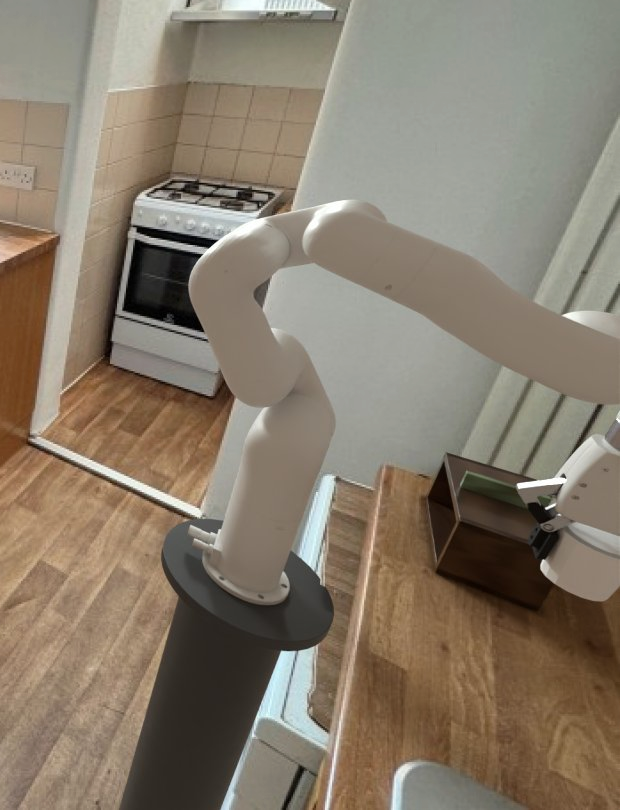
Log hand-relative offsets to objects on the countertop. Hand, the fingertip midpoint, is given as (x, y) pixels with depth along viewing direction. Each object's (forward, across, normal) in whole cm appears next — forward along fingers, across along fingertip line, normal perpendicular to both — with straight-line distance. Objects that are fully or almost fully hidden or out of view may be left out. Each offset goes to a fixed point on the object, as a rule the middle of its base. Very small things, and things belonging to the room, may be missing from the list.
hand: (582, 567), depth 71 cm
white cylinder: (+2, 0, 0) cm, 2 cm away
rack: (+23, -1, -32) cm, 40 cm away
